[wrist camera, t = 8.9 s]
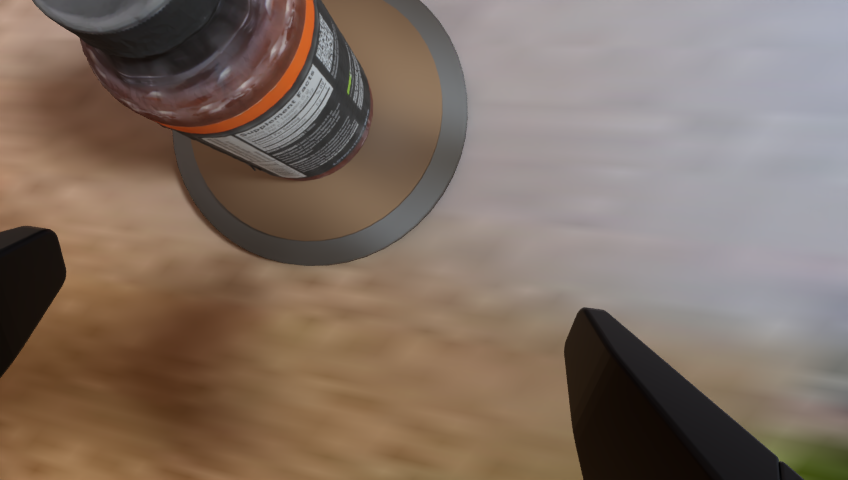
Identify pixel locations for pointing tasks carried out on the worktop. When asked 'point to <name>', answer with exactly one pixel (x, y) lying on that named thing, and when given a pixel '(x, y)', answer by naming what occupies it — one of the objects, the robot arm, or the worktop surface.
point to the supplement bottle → (232, 75)
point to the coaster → (370, 168)
